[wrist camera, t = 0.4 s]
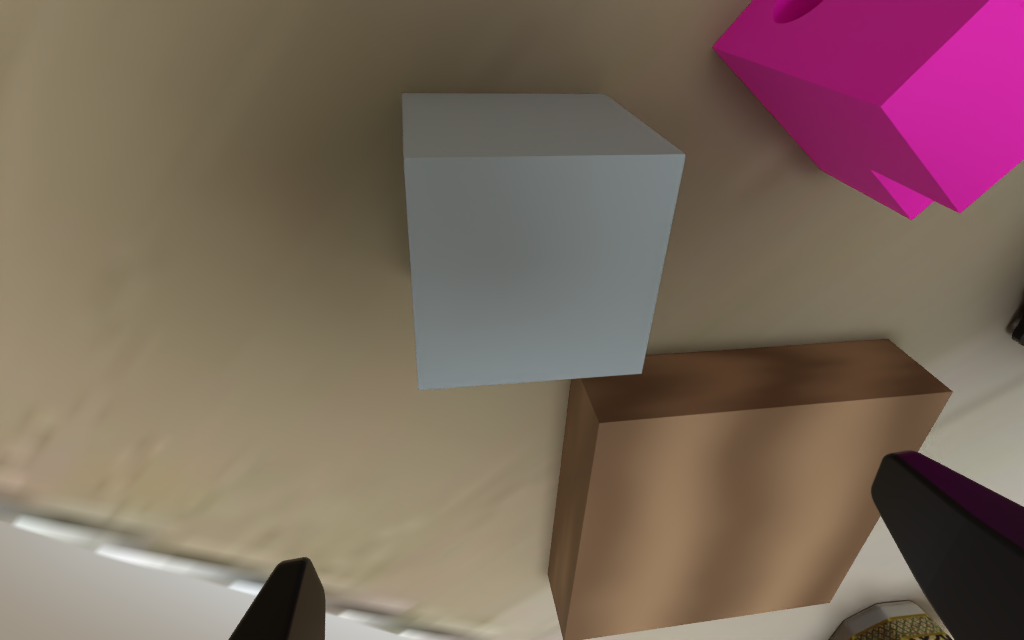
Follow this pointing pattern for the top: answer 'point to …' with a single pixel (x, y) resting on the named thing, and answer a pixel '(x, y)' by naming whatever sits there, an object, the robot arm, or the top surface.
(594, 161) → the slate cube
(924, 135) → the toy block
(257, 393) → the top surface
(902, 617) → the ceramic cup
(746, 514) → the walnut slab
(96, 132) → the top surface
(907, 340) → the top surface
